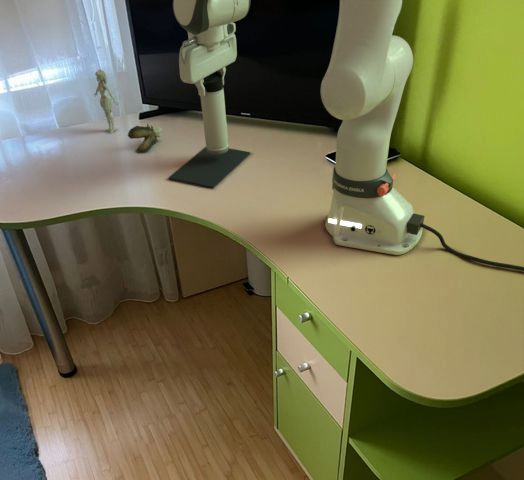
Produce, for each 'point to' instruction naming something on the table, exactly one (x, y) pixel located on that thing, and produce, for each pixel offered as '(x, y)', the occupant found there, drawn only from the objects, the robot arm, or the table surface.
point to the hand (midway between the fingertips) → (211, 90)
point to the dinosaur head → (145, 136)
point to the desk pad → (209, 167)
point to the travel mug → (214, 115)
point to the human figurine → (105, 98)
